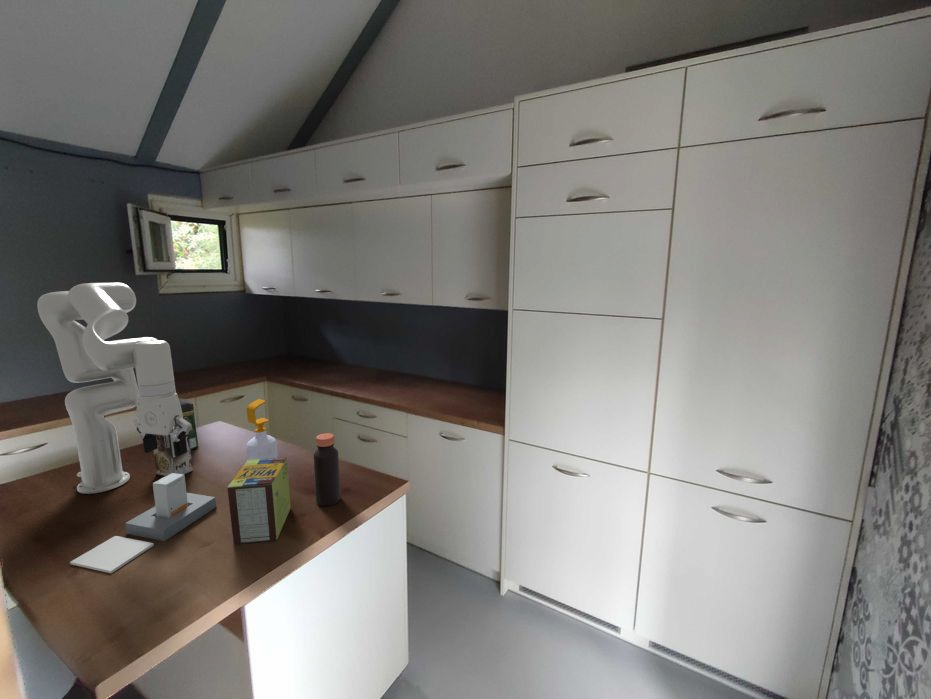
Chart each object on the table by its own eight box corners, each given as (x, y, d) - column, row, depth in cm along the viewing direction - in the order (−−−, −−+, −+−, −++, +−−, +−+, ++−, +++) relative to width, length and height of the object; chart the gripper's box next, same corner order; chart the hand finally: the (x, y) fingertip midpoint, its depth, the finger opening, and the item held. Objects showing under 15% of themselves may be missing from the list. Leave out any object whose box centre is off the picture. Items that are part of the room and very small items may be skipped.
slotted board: (126, 533, 107) (125, 523, 107) (182, 501, 123) (180, 491, 122) (164, 541, 104) (163, 530, 104) (216, 506, 120) (215, 497, 119)
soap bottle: (284, 469, 143) (278, 399, 138) (258, 480, 135) (252, 407, 131) (268, 462, 147) (262, 395, 143) (243, 473, 140) (236, 402, 135)
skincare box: (170, 527, 110) (165, 485, 108) (157, 525, 111) (151, 483, 109) (190, 514, 116) (185, 474, 114) (177, 512, 117) (171, 472, 115)
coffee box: (194, 470, 142) (188, 424, 139) (175, 478, 136) (169, 431, 133) (174, 465, 145) (168, 421, 142) (155, 474, 139) (149, 427, 136)
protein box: (291, 507, 120) (287, 456, 117) (277, 541, 105) (272, 483, 102) (252, 510, 118) (247, 459, 115) (231, 545, 103) (226, 487, 100)
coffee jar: (169, 446, 160) (163, 399, 157) (193, 440, 166) (188, 395, 162) (176, 454, 153) (170, 405, 150) (200, 448, 159) (195, 400, 156)
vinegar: (312, 500, 123) (308, 436, 120) (333, 492, 128) (329, 430, 125) (323, 509, 119) (319, 443, 115) (345, 500, 124) (342, 436, 120)
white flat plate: (70, 564, 96) (70, 561, 96) (115, 537, 106) (115, 535, 105) (111, 573, 93) (110, 571, 93) (153, 545, 103) (153, 543, 103)
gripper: (115, 391, 105) (125, 455, 108) (171, 395, 101) (180, 462, 104) (144, 383, 112) (153, 444, 115) (197, 387, 108) (205, 449, 111)
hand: (166, 452), depth 110 cm, fingers open, 9 cm apart
